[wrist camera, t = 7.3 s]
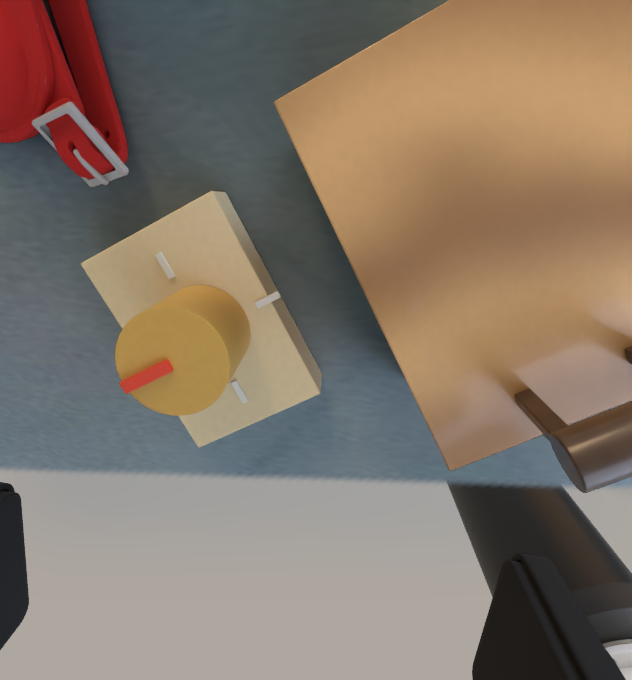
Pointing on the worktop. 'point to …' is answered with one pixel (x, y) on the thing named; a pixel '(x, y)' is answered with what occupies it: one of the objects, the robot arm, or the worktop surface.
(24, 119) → the tracker holder
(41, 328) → the worktop surface
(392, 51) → the hinged box cover
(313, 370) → the lock plate
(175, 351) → the lock knob
